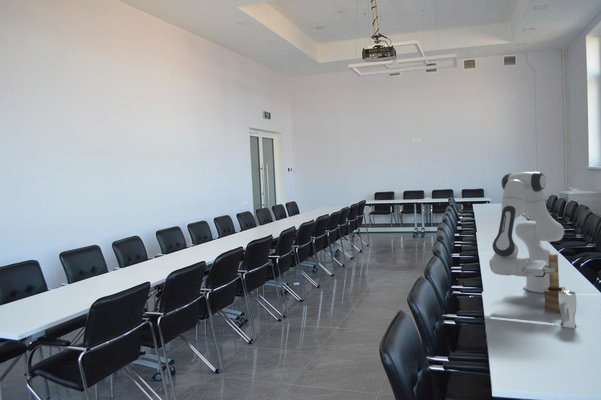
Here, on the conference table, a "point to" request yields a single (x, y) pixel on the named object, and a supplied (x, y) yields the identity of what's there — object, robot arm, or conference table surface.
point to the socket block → (552, 299)
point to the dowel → (553, 275)
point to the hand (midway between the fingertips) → (555, 269)
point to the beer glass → (567, 308)
